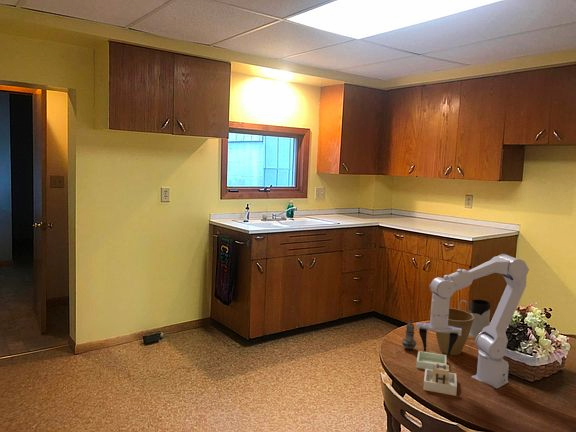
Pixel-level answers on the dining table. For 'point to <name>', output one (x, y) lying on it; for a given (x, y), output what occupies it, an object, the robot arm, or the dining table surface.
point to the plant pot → (459, 321)
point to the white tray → (440, 387)
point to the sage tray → (429, 360)
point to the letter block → (440, 373)
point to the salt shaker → (409, 337)
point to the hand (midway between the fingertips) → (436, 352)
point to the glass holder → (479, 316)
